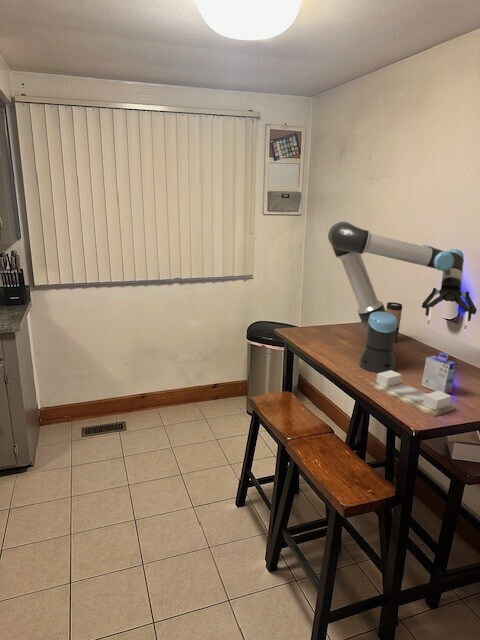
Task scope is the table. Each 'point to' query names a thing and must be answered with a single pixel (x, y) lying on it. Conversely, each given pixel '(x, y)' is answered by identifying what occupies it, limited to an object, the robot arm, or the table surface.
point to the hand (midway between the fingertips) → (446, 324)
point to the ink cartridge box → (439, 373)
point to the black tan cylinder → (395, 314)
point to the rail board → (410, 397)
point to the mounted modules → (431, 399)
